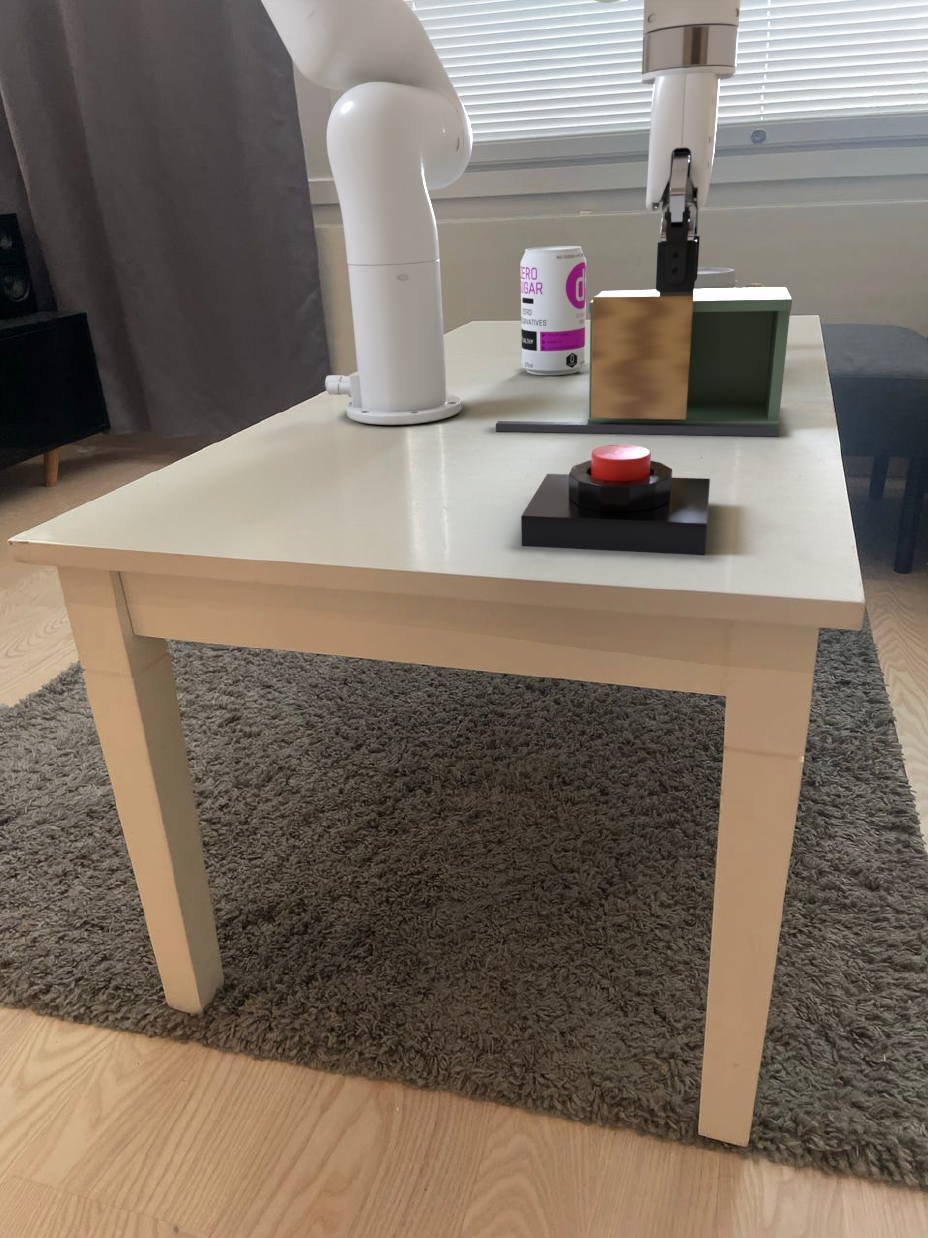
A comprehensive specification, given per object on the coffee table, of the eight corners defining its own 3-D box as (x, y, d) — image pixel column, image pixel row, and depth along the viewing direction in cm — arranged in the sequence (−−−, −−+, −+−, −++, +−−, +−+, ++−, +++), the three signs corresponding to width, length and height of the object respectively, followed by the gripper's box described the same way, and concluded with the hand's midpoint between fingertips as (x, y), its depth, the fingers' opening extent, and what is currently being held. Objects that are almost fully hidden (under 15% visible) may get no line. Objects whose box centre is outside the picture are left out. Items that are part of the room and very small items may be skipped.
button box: (521, 546, 61) (520, 489, 60) (547, 501, 70) (546, 450, 68) (704, 556, 58) (709, 496, 57) (707, 507, 67) (711, 453, 65)
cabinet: (495, 431, 91) (491, 305, 86) (518, 406, 101) (516, 292, 96) (779, 436, 85) (793, 300, 79) (773, 409, 94) (785, 287, 89)
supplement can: (594, 366, 121) (597, 245, 115) (567, 377, 115) (567, 250, 109) (540, 363, 125) (540, 245, 119) (511, 374, 119) (508, 250, 113)
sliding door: (590, 418, 88) (593, 244, 82) (592, 416, 89) (595, 243, 83) (686, 420, 86) (696, 240, 79) (686, 417, 87) (697, 239, 80)
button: (587, 484, 62) (587, 458, 61) (594, 467, 65) (595, 443, 64) (647, 486, 61) (648, 460, 60) (651, 469, 64) (653, 444, 63)
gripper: (650, 73, 83) (642, 278, 90) (632, 49, 68) (625, 298, 75) (735, 66, 81) (721, 276, 89) (737, 40, 66) (719, 296, 73)
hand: (677, 285), depth 82 cm, fingers open, 7 cm apart
